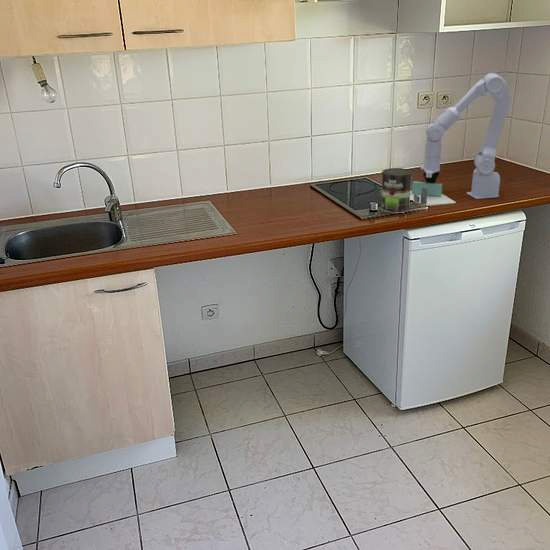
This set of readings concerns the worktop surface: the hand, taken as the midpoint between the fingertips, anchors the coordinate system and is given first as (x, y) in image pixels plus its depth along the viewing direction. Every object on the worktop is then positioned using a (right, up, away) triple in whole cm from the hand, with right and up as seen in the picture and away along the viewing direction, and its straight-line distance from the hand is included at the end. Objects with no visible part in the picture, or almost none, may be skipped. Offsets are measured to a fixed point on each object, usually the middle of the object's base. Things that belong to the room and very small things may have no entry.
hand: (429, 191), depth 225 cm
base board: (-2, -3, -3) cm, 4 cm away
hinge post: (-8, -1, +3) cm, 8 cm away
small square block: (-6, -6, -9) cm, 12 cm away
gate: (-2, -1, -1) cm, 2 cm away
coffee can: (-16, -9, -14) cm, 24 cm away
